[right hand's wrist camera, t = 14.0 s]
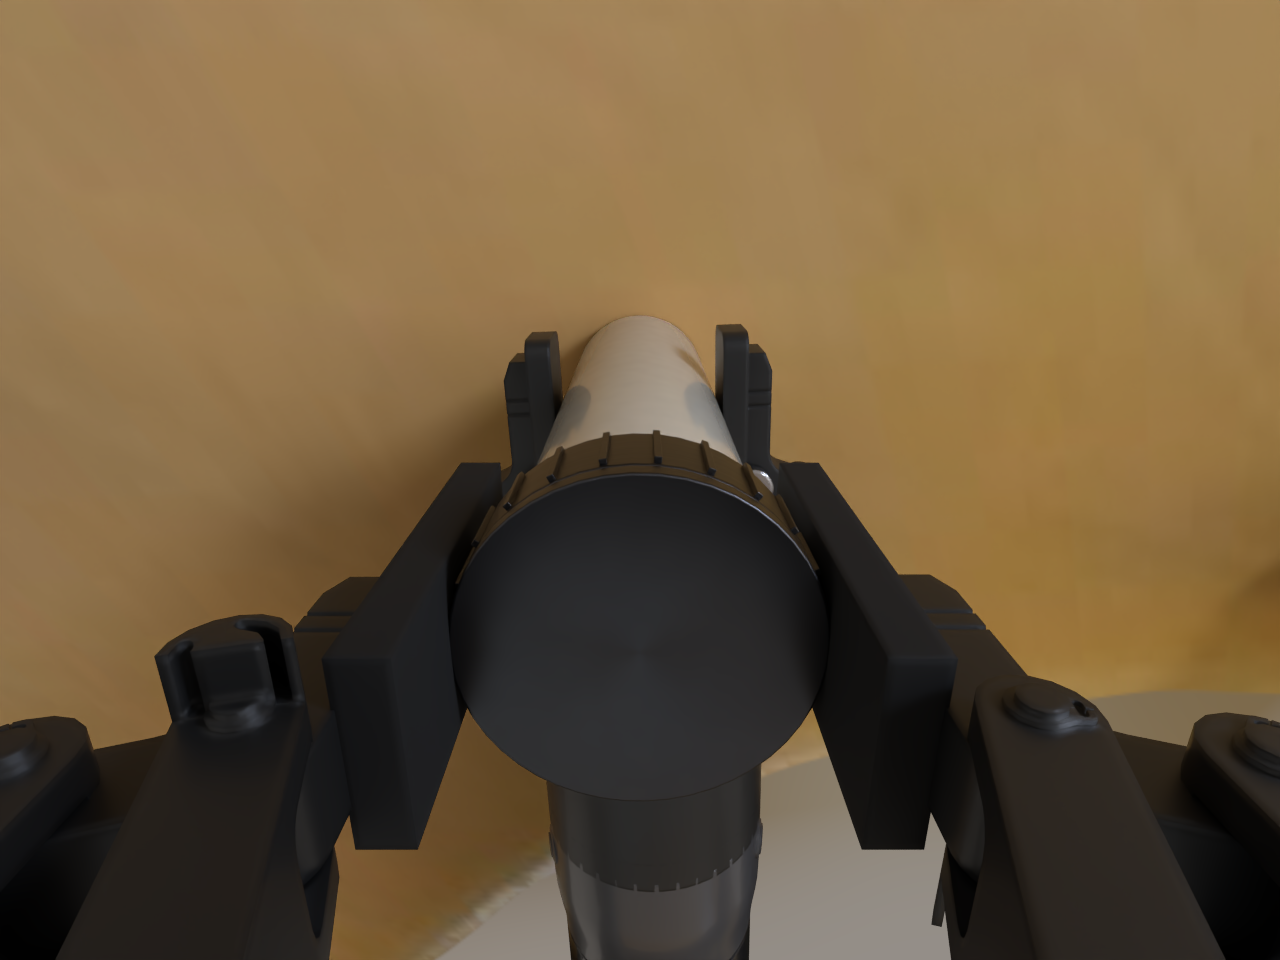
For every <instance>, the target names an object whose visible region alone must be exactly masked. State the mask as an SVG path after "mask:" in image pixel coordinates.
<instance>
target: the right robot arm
mask: <svg viewBox="0 0 1280 960" xmlns="http://www.w3.org/2000/svg"><path fill="white" fill-rule="evenodd" d="M778 494H780V495H781V497H782V498H783V500H784V502H785V504H786V506H787V508H788V510H789V512H790V514H791V516H792V518H793V520H794V522H795V524H796V526H797V528H798V530H799V532H801V533H802V535H803V537H804V539H805V541H806V543H807V545H808V547H809V549H810V551H811V553H812V555H813V557H814V559H815V561H816V563H817V565H818V567H819V569H820V571H821V575H819V576H817V577H818V579H819V581H820V584H821V587H822V590H823V593H824V596H825V599H826V602H827V608H828V614H829V619H830V643H829V653H828V662H827V670H826V673H825V677H824V680H823V683H822V687H821V689H820V691H819V694H818V696H817V698H816V700H815V702H814V705H813V707H812V708H813V711H814V714H815V716H816V719H817V722H818V725H819V728H820V731H821V734H822V737H823V739H824V742H825V745H826V748H827V751H828V754H829V757H830V760H831V762H832V765H833V768H834V771H835V774H836V777H837V780H838V782H839V785H840V788H841V791H842V794H843V797H844V800H845V803H846V805H847V808H848V811H849V814H850V817H851V820H852V823H853V826H854V828H855V831H856V834H857V837H858V840H859V843H860V846H861V849H863V850H922V849H923V850H924V847H925V841H926V836H927V830H928V824H929V819H930V814H931V813H932V815H933V817H934V819H935V821H936V823H937V825H938V827H939V829H940V831H941V834H942V836H943V838H944V840H945V842H946V848H945V853H944V858H943V863H942V868H941V873H940V879H939V884H938V889H937V894H936V899H935V904H934V910H933V917H932V925H936V926H940V927H941V926H942V922H943V917H944V912H945V914H946V922H947V930H948V938H949V946H950V953H951V960H1280V723H1279V722H1276V721H1273V720H1272V721H1268V719H1266V718H1261V717H1257V716H1249V715H1241V714H1234V713H1218V714H1210V715H1205V716H1204V717H1202V718H1201V719H1200V720H1198V721H1197V722H1196V723H1194V726H1193V729H1192V732H1191V736H1190V739H1189V742H1188V745H1187V746H1181V745H1176V744H1172V743H1167V742H1162V741H1156V740H1152V739H1147V738H1142V737H1136V736H1132V735H1127V734H1123V733H1119V732H1115V731H1112V729H1111V726H1110V725H1109V723H1108V721H1107V719H1106V718H1105V717H1104V716H1103V714H1102V713H1101V712H1100V711H1099V709H1098V708H1097V707H1096V706H1095V705H1094V704H1092V703H1091V702H1089V701H1088V700H1086V699H1085V698H1084V697H1082V696H1081V695H1079V694H1078V693H1076V692H1075V691H1072V690H1070V689H1068V688H1065V687H1063V686H1061V685H1059V684H1056V683H1054V682H1051V681H1047V680H1043V679H1039V678H1035V677H1031V676H1027V674H1026V673H1025V672H1024V671H1023V670H1022V668H1021V667H1020V666H1019V665H1018V664H1017V662H1016V661H1015V660H1014V659H1013V658H1012V656H1011V655H1010V654H1009V653H1008V652H1007V650H1006V649H1005V648H1004V647H1003V646H1002V644H1001V643H1000V642H999V641H998V640H997V638H996V637H995V636H994V635H993V634H992V633H991V631H990V630H986V625H985V624H984V623H983V622H982V621H981V619H980V618H979V617H978V616H977V615H976V614H973V612H972V609H971V607H970V606H969V605H968V604H967V603H966V601H965V600H964V599H963V598H962V597H961V596H960V594H959V593H958V592H957V591H956V590H954V589H953V588H951V587H949V586H948V585H946V584H944V583H943V582H941V581H940V580H938V579H936V578H935V577H933V576H931V575H898V574H897V572H896V571H895V569H894V568H893V567H892V565H891V564H890V562H889V561H888V560H887V558H886V557H885V555H884V554H883V553H882V551H881V550H880V548H879V547H878V546H877V544H876V543H875V541H874V540H873V539H872V537H871V536H870V534H869V533H868V532H867V530H866V529H865V527H864V526H863V525H862V523H861V522H860V520H859V519H858V518H857V516H856V515H855V513H854V512H853V511H852V509H851V508H850V506H849V505H848V504H847V502H846V501H845V499H844V498H843V497H842V495H841V494H840V492H839V491H838V490H837V488H836V487H835V485H834V484H833V483H832V481H831V480H830V478H829V477H828V476H827V474H826V473H825V471H824V470H823V469H822V467H821V466H820V464H819V463H779V475H778V489H777V495H778ZM502 499H503V495H502V481H501V467H500V463H461V464H460V465H459V467H458V468H457V469H456V471H455V472H454V474H453V475H452V476H451V478H450V479H449V481H448V482H447V483H446V485H445V486H444V488H443V489H442V490H441V492H440V493H439V495H438V496H437V497H436V499H435V500H434V502H433V503H432V504H431V506H430V507H429V509H428V510H427V511H426V513H425V514H424V516H423V517H422V518H421V520H420V521H419V523H418V524H417V525H416V527H415V528H414V530H413V531H412V532H411V534H410V535H409V537H408V538H407V539H406V541H405V542H404V544H403V545H402V546H401V548H400V549H399V551H398V552H397V553H396V555H395V556H394V558H393V559H392V560H391V562H390V563H389V565H388V566H387V567H386V569H385V570H384V572H383V573H382V574H381V576H380V577H349V578H348V579H346V580H344V581H343V582H341V583H339V584H338V585H336V586H335V587H333V588H331V589H330V590H328V591H326V592H325V593H323V594H322V596H321V597H320V598H319V599H318V600H317V602H316V603H315V604H314V605H313V606H312V608H311V609H310V610H309V611H308V615H307V616H304V617H303V618H302V620H301V621H300V622H299V623H298V624H297V626H296V627H295V628H294V632H293V629H292V626H291V625H290V624H289V623H287V622H286V621H285V620H283V619H282V618H279V617H274V616H269V615H264V614H258V615H238V616H234V617H229V618H224V619H219V620H214V621H211V622H209V623H206V624H204V625H201V626H198V627H196V628H193V629H190V630H188V631H186V632H185V633H183V634H181V635H180V636H178V637H176V638H174V639H173V640H171V641H169V642H168V643H167V644H166V645H165V646H164V647H163V648H162V649H161V650H160V651H159V652H158V653H157V654H156V655H155V656H154V657H155V660H156V664H157V668H158V671H159V675H160V679H161V682H162V686H163V690H164V693H165V697H166V701H167V704H168V708H169V712H170V715H171V719H172V724H171V726H170V728H169V730H168V732H167V734H166V735H162V736H158V737H154V738H150V739H145V740H140V741H135V742H130V743H125V744H120V745H115V746H110V747H105V748H100V749H95V750H93V747H92V744H91V740H90V737H89V734H88V731H87V728H86V726H84V725H83V724H82V723H80V722H79V721H78V720H76V719H75V718H67V717H59V716H50V717H43V718H35V719H26V720H21V721H17V722H13V723H12V724H11V725H9V724H6V725H3V726H0V960H329V956H330V948H331V940H332V932H333V924H334V916H335V908H336V900H337V892H338V884H339V871H338V864H337V858H336V853H335V847H334V845H335V843H336V841H337V839H338V836H339V834H340V832H341V830H342V828H343V826H344V824H345V822H346V820H347V818H348V816H350V822H351V827H352V833H353V838H354V844H355V849H356V850H418V847H419V844H420V842H421V839H422V836H423V833H424V830H425V827H426V824H427V821H428V819H429V816H430V813H431V810H432V807H433V804H434V801H435V799H436V796H437V793H438V790H439V787H440V784H441V781H442V778H443V776H444V773H445V770H446V767H447V764H448V761H449V758H450V755H451V753H452V750H453V747H454V744H455V741H456V738H457V735H458V732H459V730H460V727H461V724H462V721H463V718H464V715H465V712H466V710H467V706H466V704H465V703H464V701H463V699H462V697H461V694H460V691H459V689H458V686H457V684H456V681H455V678H454V674H453V666H452V658H451V648H450V638H449V618H450V611H451V607H452V603H453V599H454V594H455V591H456V589H454V584H455V581H456V579H457V577H458V575H459V573H460V571H461V569H462V567H463V565H464V563H465V561H466V559H467V557H468V555H469V553H470V551H471V549H472V547H473V546H471V543H472V541H473V540H474V538H475V536H476V534H477V532H478V530H479V528H480V526H481V524H482V522H483V520H484V518H485V516H486V514H487V512H488V510H489V508H490V507H491V506H494V507H495V508H496V507H497V505H498V504H499V502H500V501H501V500H502Z"/></svg>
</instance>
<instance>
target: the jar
mask: <svg viewBox="0 0 1280 960" xmlns="http://www.w3.org/2000/svg"><path fill="white" fill-rule="evenodd" d="M653 430H660V435H666V436H673V437H679V438H682V439H686V440H689V441H693V442H696V443H701V441H702V440H704V441H707V442H708V443H709V446H710V448H712V449H714V450H717V451H719V452H721V453H723V454H725V455H726V456H728V457H730V458H731V459H733V460H735V461H736V462H738V463H740V464H741V465H743V464H742V462H741V460H740V457H739V455H738V452H737V450H736V447H735V445H734V442H733V440H732V437H731V435H730V433H729V430H728V428H727V425H726V423H725V420H724V418H723V415H722V413H721V410H720V408H719V405H718V403H717V401H716V398H715V396H714V393H713V391H712V388H711V386H710V383H709V381H708V378H707V376H706V374H705V371H704V369H703V366H702V364H701V361H700V359H699V356H698V354H697V352H696V350H695V348H694V346H693V344H692V343H691V341H690V340H689V339H688V338H687V336H686V335H685V334H684V333H683V332H682V331H680V330H679V329H678V328H677V327H675V326H674V325H672V324H671V323H669V322H666V321H664V320H662V319H659V318H656V317H651V316H638V315H637V316H628V317H624V318H621V319H618V320H615V321H613V322H611V323H609V324H607V325H606V326H604V327H603V328H602V329H600V330H599V331H598V332H597V333H596V334H595V335H594V336H593V337H592V338H591V340H590V341H589V342H588V344H587V346H586V347H585V349H584V351H583V353H582V356H581V358H580V361H579V363H578V366H577V368H576V370H575V373H574V375H573V378H572V380H571V383H570V385H569V387H568V390H567V392H566V395H565V397H564V400H563V402H562V405H561V407H560V409H559V412H558V414H557V417H556V419H555V422H554V424H553V427H552V429H551V431H550V434H549V436H548V439H547V441H546V444H545V446H544V448H543V451H542V453H541V456H540V458H539V461H538V463H537V465H538V464H540V463H541V462H542V461H544V460H545V459H547V458H549V457H551V456H553V455H554V454H555V451H556V448H558V447H560V446H563V448H564V449H566V448H569V447H572V446H574V445H577V444H580V443H582V442H585V441H588V440H593V439H597V438H602V436H603V433H605V432H610V435H621V434H631V433H638V434H653Z"/></svg>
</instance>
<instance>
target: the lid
mask: <svg viewBox="0 0 1280 960" xmlns="http://www.w3.org/2000/svg"><path fill="white" fill-rule="evenodd" d="M471 546H473V547H472V549H471V551H470V553H469V555H468V557H467V559H466V561H465V563H464V565H463V567H462V569H461V571H460V573H459V575H458V577H457V579H456V581H455V584H454V589H456V591H455V594H454V599H453V603H452V607H451V611H450V618H449V638H450V648H451V658H452V666H453V674H454V678H455V681H456V684H457V686H458V689H459V691H460V694H461V697H462V699H463V701H464V703H465V704H466V706H467V708H468V710H469V712H470V713H471V715H472V717H473V718H474V720H475V721H476V722H477V724H478V725H479V726H480V728H481V729H482V730H483V732H484V733H485V734H486V736H487V737H488V738H489V739H490V740H491V741H492V742H493V743H494V744H495V745H496V746H497V747H498V748H499V749H500V750H501V751H502V752H504V753H505V754H506V755H507V756H509V757H510V758H511V759H512V760H514V761H515V762H516V763H517V764H519V765H520V766H522V767H524V768H525V769H527V770H528V771H530V772H532V773H533V774H535V775H536V776H538V777H540V778H543V779H545V780H547V781H549V782H551V783H553V784H555V785H557V786H560V787H563V788H566V789H569V790H572V791H575V792H577V793H581V794H585V795H590V796H594V797H598V798H604V799H612V800H620V801H657V800H669V799H674V798H680V797H685V796H690V795H694V794H697V793H701V792H704V791H707V790H711V789H714V788H716V787H719V786H721V785H723V784H726V783H728V782H730V781H733V780H735V779H737V778H738V777H740V776H742V775H744V774H746V773H747V772H749V771H751V770H753V769H754V768H756V767H757V766H758V765H760V764H761V763H762V762H764V761H765V760H767V759H768V758H769V757H771V756H772V755H773V754H774V753H775V752H776V751H777V750H778V749H780V748H781V747H782V746H783V745H784V744H785V743H786V742H787V741H788V740H789V739H790V737H791V736H792V735H793V734H794V733H795V731H796V730H797V729H798V728H799V727H800V726H801V724H802V723H803V721H804V719H805V718H806V716H807V715H808V713H809V712H810V710H811V708H812V707H813V705H814V702H815V700H816V698H817V696H818V694H819V691H820V689H821V687H822V683H823V680H824V677H825V673H826V670H827V662H828V653H829V643H830V619H829V614H828V608H827V602H826V599H825V596H824V593H823V590H822V587H821V584H820V581H819V579H818V577H817V576H819V575H821V571H820V569H819V567H818V565H817V563H816V561H815V559H814V557H813V555H812V553H811V551H810V549H809V547H808V545H807V543H806V541H805V539H804V537H803V535H802V533H801V532H799V530H798V528H797V526H796V524H795V522H794V520H793V518H792V516H791V514H790V512H789V510H788V508H787V506H786V504H785V502H784V500H783V498H782V497H781V495H780V494H778V495H776V496H774V494H773V493H772V492H771V491H770V490H769V489H768V488H767V487H766V486H765V485H764V484H763V483H762V481H761V480H760V479H759V478H758V477H756V476H755V475H754V473H753V471H752V468H751V466H750V465H749V464H748V463H746V462H745V463H744V464H743V465H741V464H740V463H738V462H736V461H735V460H733V459H731V458H730V457H728V456H726V455H725V454H723V453H721V452H719V451H717V450H714V449H712V448H710V446H709V443H708V442H707V441H704V440H702V441H701V443H696V442H693V441H689V440H686V439H682V438H679V437H673V436H666V435H660V430H653V434H638V433H631V434H621V435H610V432H605V433H603V436H602V438H597V439H593V440H588V441H585V442H582V443H580V444H577V445H574V446H572V447H569V448H566V449H564V448H563V446H560V447H558V448H556V451H555V454H554V455H553V456H551V457H549V458H547V459H545V460H544V461H542V462H541V463H540V464H538V465H537V466H535V467H534V468H533V469H531V470H530V471H528V472H527V473H526V474H524V473H523V472H522V471H521V472H520V473H519V474H518V475H517V477H516V479H515V481H514V483H513V485H512V487H511V489H510V490H509V491H508V492H507V494H506V495H505V496H504V497H503V499H502V500H501V501H500V502H499V504H498V505H497V507H496V508H495V507H494V506H491V507H490V508H489V510H488V512H487V514H486V516H485V518H484V520H483V522H482V524H481V526H480V528H479V530H478V532H477V534H476V536H475V538H474V540H473V541H472V543H471Z"/></svg>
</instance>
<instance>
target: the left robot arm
mask: <svg viewBox="0 0 1280 960" xmlns="http://www.w3.org/2000/svg"><path fill="white" fill-rule="evenodd" d="M504 387H505V397H506V406H507V414H508V425H509V435H510V445H511V454H512V465H511V466H510V467H509V468H507V469H504V470H502V471H501V481H502V495H503V497H504V496H505V495H506V494H507V492H508V491H509V490H510V489H511V487H512V485H513V483H514V481H515V479H516V477H517V475H518V474H519V473H520V472H521V471H522V472H523V473H524V474H526V473H527V472H528V471H530V470H531V469H533V468H534V467H535V466H537V463H538V461H539V458H540V456H541V453H542V451H543V448H544V446H545V444H546V441H547V439H548V436H549V434H550V431H551V429H552V427H553V424H554V422H555V419H556V417H557V414H558V412H559V409H560V407H561V405H562V402H563V394H562V381H561V368H560V355H559V342H558V335H557V332H556V331H555V332H532V333H531V334H530V335H529V337H528V338H527V339H526V340H525V348H524V353H517V354H516V355H515V357H514V358H513V359H512V360H511V361H510V362H509V365H508V369H507V372H506V375H505V379H504ZM771 390H772V369H771V367H770V364H769V361H768V359H767V356H766V353H765V352H764V351H763V350H762V349H761V347H760V346H759V345H758V344H749V338H748V332H747V330H746V329H745V328H744V327H743V326H742V325H741V324H730V325H717V326H716V365H715V398H716V401H717V403H718V405H719V408H720V410H721V413H722V415H723V418H724V420H725V423H726V425H727V428H728V430H729V433H730V435H731V437H732V440H733V442H734V445H735V447H736V450H737V452H738V455H739V457H740V460H741V462H742V464H744V463H745V462H746V463H748V464H749V465H750V466H751V468H752V471H753V473H754V475H755V476H756V477H758V478H759V479H760V480H761V481H762V483H763V484H764V485H765V486H766V487H767V488H768V489H769V490H770V491H771V492H772V493H773V494H774V496H776V495H777V489H778V475H779V463H788V462H785V461H782V460H779V459H776V458H774V457H772V456H771V455H770V424H771ZM792 463H805V462H792ZM546 781H547V780H546ZM547 790H548V801H549V811H550V821H551V824H550V832H549V843H550V850H551V855H552V857H553V858H554V861H555V867H556V875H557V881H558V885H559V889H560V893H561V897H562V900H563V904H564V907H565V910H566V913H567V921H568V931H569V942H570V952H571V960H749V932H750V909H751V903H752V899H753V894H754V890H755V885H756V880H757V871H758V858H759V854H760V853H761V846H762V831H763V825H762V823H761V819H760V791H761V764H760V765H758V766H757V767H756V768H754V769H753V770H751V771H749V772H747V773H746V774H744V775H742V776H740V777H738V778H737V779H735V780H733V781H730V782H728V783H726V784H723V785H721V786H719V787H716V788H714V789H711V790H707V791H704V792H701V793H697V794H694V795H690V796H685V797H680V798H674V799H669V800H657V801H620V800H612V799H604V798H598V797H594V796H590V795H585V794H581V793H577V792H575V791H572V790H569V789H566V788H563V787H560V786H557V785H555V784H553V783H551V782H549V781H547Z"/></svg>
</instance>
